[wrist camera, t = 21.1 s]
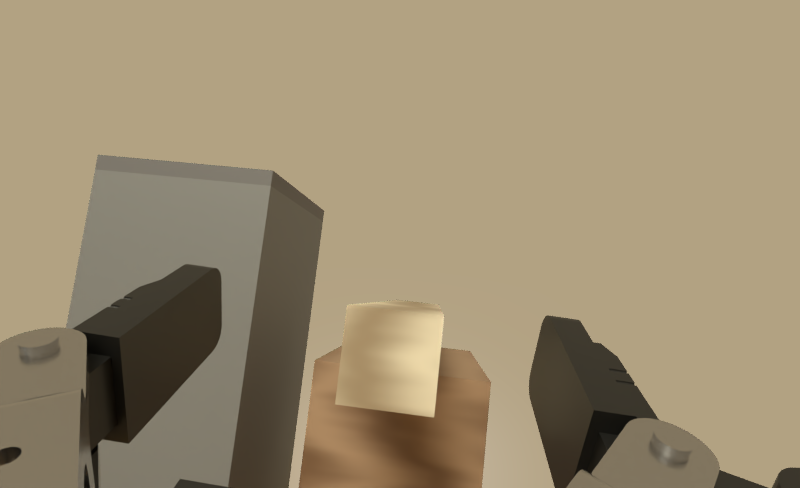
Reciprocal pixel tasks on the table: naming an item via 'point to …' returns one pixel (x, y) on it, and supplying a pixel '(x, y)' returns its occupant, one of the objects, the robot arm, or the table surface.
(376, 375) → the birch bar
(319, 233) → the charcoal pedestal
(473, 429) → the block
